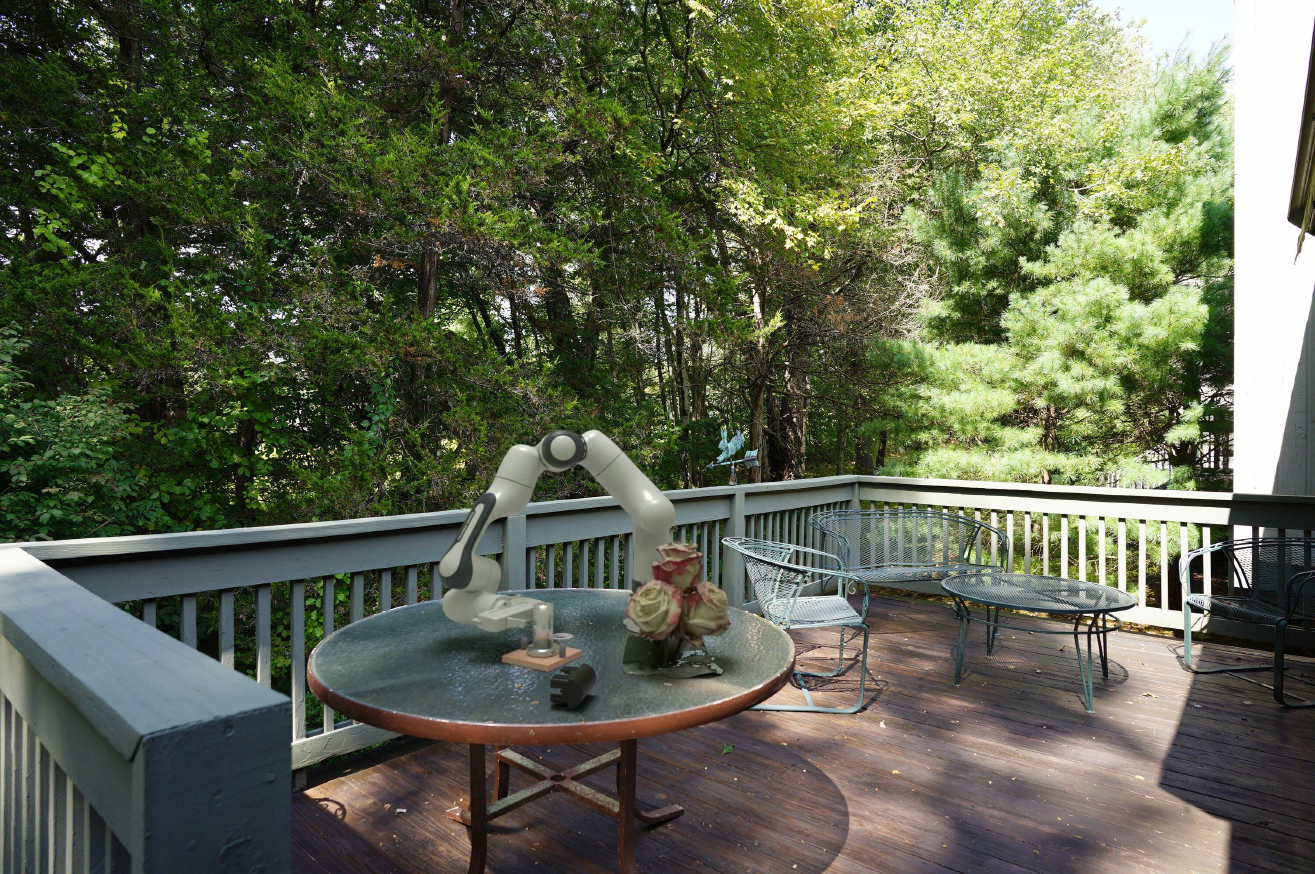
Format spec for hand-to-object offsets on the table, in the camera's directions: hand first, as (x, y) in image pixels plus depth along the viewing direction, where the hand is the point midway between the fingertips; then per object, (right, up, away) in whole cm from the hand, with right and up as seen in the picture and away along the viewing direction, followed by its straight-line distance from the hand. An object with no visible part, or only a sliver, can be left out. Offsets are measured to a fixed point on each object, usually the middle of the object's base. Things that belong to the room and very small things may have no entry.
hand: (537, 619), depth 178 cm
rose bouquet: (+35, -10, -2) cm, 37 cm away
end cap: (+12, -10, -28) cm, 33 cm away
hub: (+1, -8, -1) cm, 8 cm away
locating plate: (+1, -10, -1) cm, 10 cm away
